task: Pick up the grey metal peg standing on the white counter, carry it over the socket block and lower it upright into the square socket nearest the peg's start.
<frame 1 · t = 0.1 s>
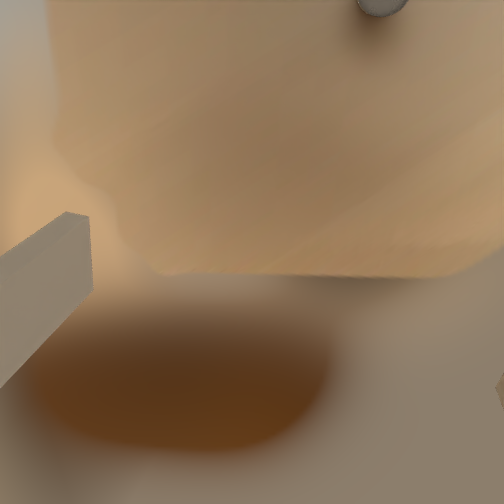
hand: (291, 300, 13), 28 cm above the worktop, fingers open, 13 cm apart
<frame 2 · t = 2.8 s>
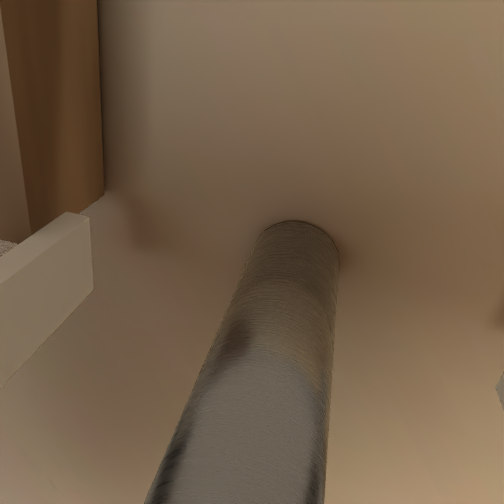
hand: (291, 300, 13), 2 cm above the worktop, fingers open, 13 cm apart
peg: (294, 261, 15), on the worktop
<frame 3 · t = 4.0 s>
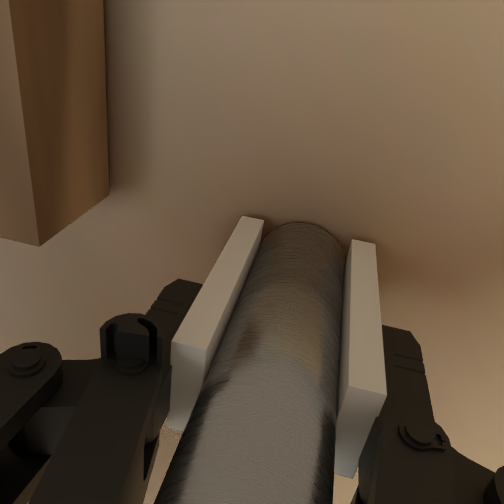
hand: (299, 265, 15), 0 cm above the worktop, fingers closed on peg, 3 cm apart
peg: (300, 262, 15), on the worktop, touching gripper
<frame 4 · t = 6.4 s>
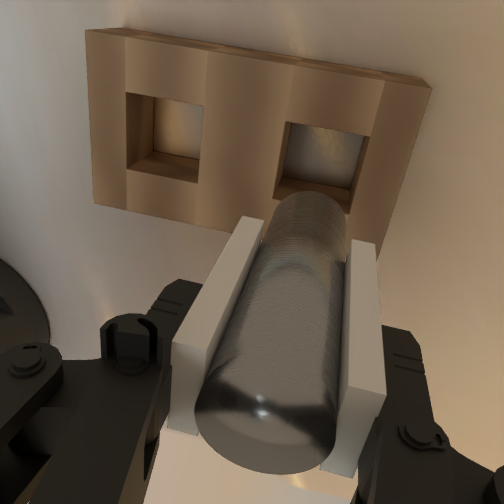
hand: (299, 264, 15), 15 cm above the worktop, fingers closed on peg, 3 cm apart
peg: (308, 225, 18), point 11 cm above the worktop, touching gripper
socket block: (253, 136, 28), on the worktop
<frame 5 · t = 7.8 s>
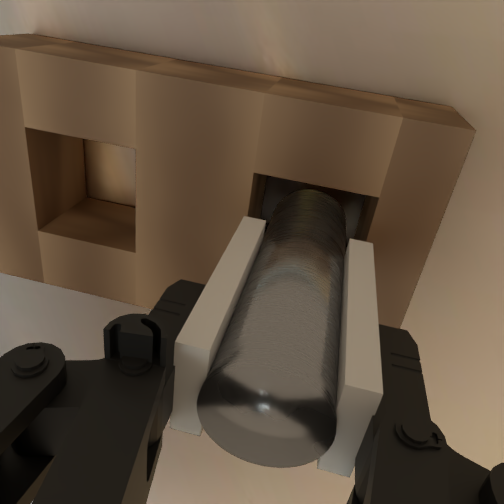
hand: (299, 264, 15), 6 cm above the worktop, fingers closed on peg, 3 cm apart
peg: (308, 224, 18), point 3 cm above the worktop, touching gripper
socket block: (217, 181, 21), on the worktop
when the fingers open (6 cm above the worktop, at t = 8.8 s): peg drops 2 cm, resting in socket block.
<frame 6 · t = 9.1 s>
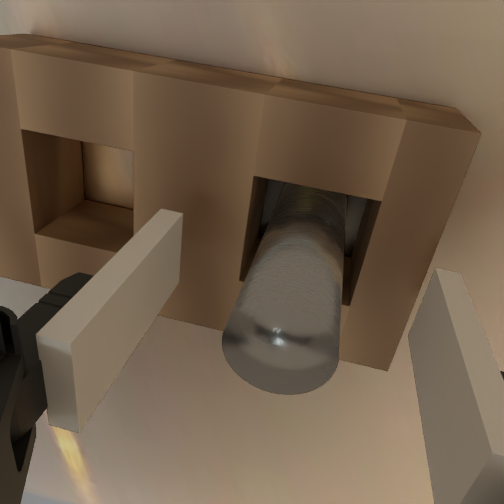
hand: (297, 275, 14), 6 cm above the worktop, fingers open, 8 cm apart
peg: (312, 203, 20), resting in socket block
socket block: (217, 184, 20), on the worktop
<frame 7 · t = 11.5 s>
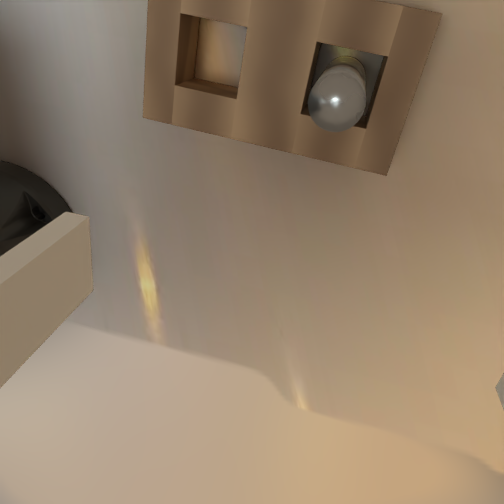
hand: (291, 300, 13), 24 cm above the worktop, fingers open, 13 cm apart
peg: (344, 78, 32), resting in socket block
socket block: (284, 65, 32), on the worktop
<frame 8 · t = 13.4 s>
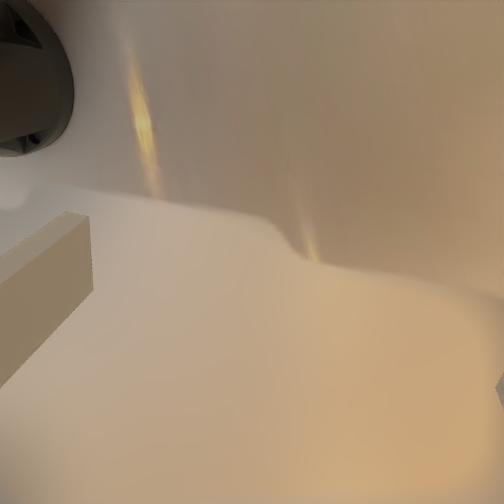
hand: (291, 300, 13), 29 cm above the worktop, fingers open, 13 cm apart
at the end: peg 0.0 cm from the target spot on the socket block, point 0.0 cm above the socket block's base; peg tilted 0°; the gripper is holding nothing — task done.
